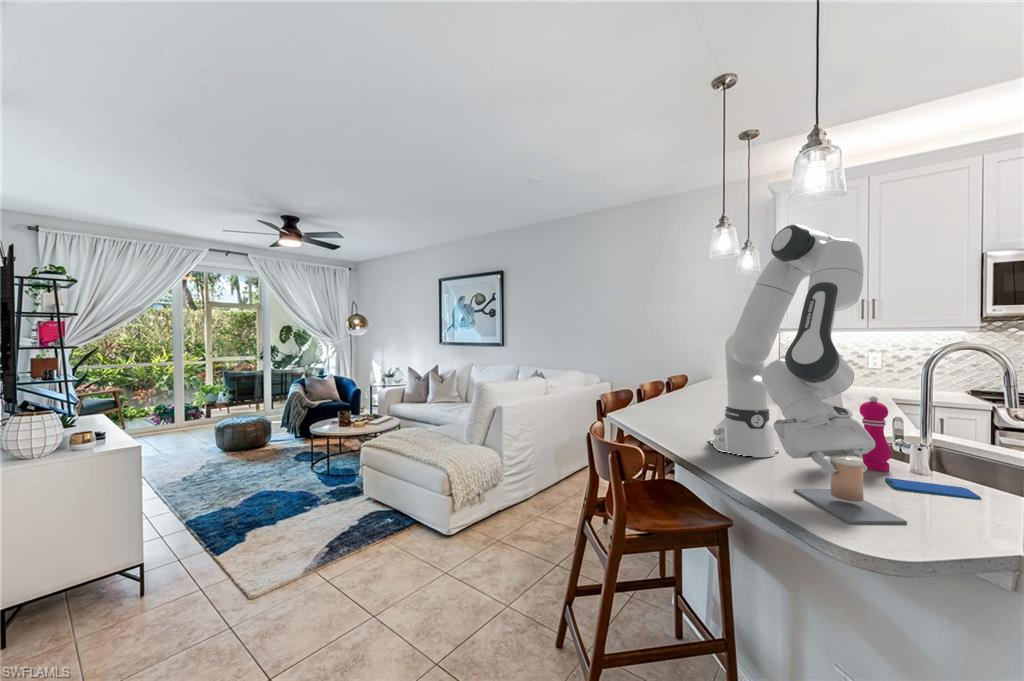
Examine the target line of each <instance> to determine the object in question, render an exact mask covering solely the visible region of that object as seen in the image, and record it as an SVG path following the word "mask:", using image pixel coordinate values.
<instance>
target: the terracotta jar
mask: <svg viewBox="0 0 1024 681" xmlns="http://www.w3.org/2000/svg"><path fill="white" fill-rule="evenodd" d="M830 463H831V464H835V465H836V466H837V468H838V469H839V472H838V473H837V474H832V475H830V489H831V495H832V496H834V497H836V498H838V499H842V500H846V501H853V502H860V501H863V500H865V499H864V498H865V497H864V496H865V495H864V472H863V459H862V458H859V457H856V456H852V455H845V454H832V455H830Z"/></svg>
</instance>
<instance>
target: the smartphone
mask: <svg viewBox="0 0 1024 681" xmlns="http://www.w3.org/2000/svg"><path fill="white" fill-rule="evenodd" d="M884 482H886V484H888V485H889V486H890V487H891V488H892V489H894V490H898V491H903V492H911V493H920V494H928V495H935V496H946V497H951V498H952V497H954V498H962V499H971V500H977V499H980V500H982V497H981V495H980V496H979V495H978V494H976V493H975V492H973V491H972V490H970V489H968V488H966V487H962V486H954V485H948V484H947V485H946V484H939V483H930V482H921V481H915V480H907V479H900V478H899V479H898V478H892V477H891V478H890V477H885V478H884Z"/></svg>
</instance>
